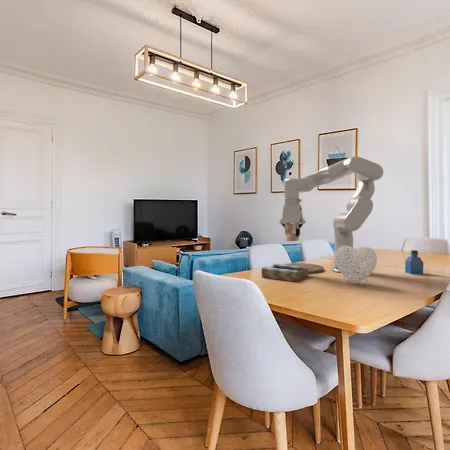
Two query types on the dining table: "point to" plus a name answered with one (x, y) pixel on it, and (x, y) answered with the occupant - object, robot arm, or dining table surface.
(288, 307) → the dining table surface
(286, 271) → the crate
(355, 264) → the decorative heart
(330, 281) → the dining table surface
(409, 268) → the perfume bottle
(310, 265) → the trivet
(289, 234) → the beech block
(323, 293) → the dining table surface
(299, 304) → the dining table surface
